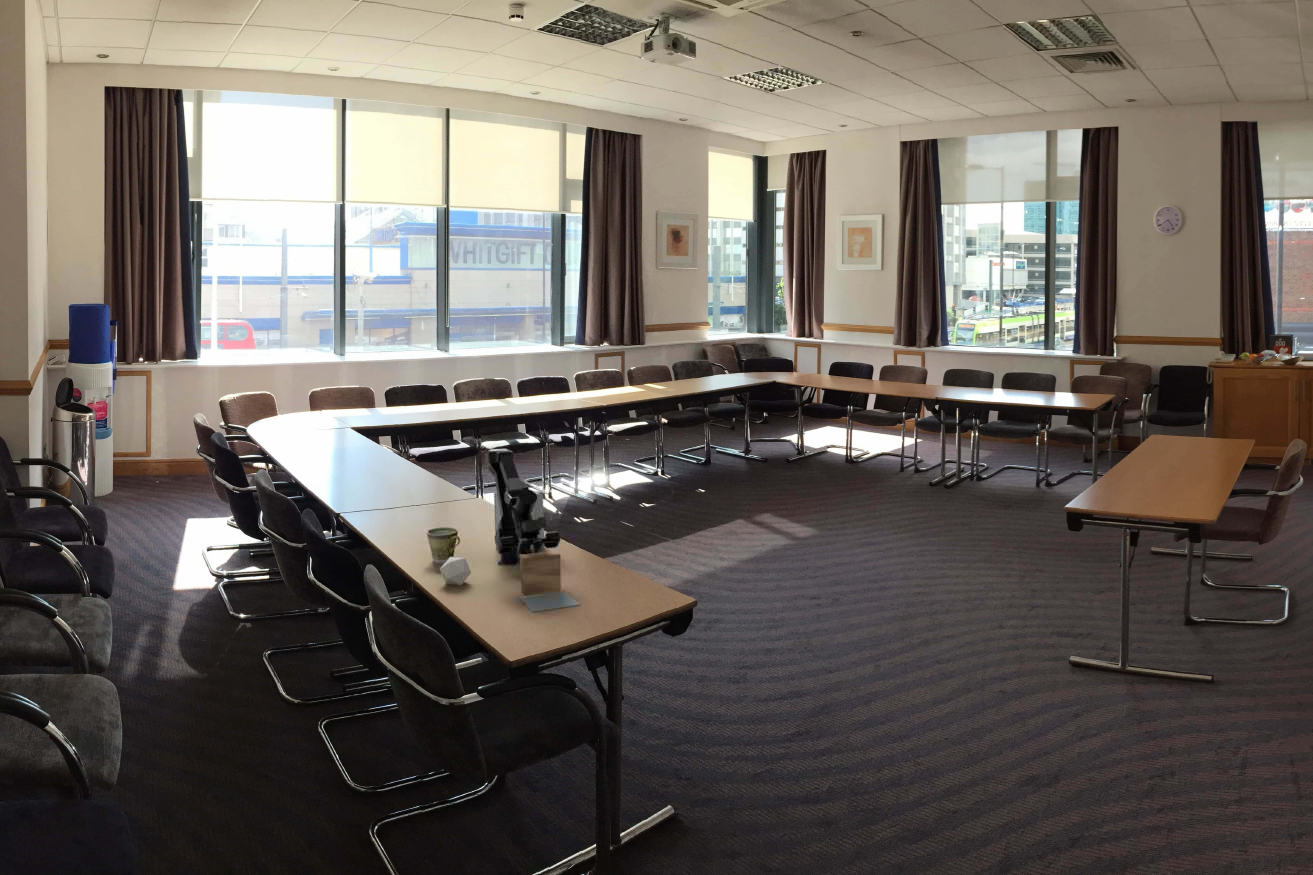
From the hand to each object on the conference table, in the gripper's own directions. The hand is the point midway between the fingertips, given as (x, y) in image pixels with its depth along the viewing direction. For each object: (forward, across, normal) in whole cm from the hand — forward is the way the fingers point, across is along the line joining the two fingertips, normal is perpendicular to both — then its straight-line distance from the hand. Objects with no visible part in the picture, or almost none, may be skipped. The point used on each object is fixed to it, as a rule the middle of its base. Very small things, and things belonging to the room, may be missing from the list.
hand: (535, 566), depth 280 cm
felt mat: (+14, 0, -4) cm, 15 cm away
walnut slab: (+8, 0, +2) cm, 8 cm away
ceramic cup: (-23, -18, +33) cm, 44 cm away
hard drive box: (-27, +8, +36) cm, 46 cm away
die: (-6, -21, +16) cm, 27 cm away
